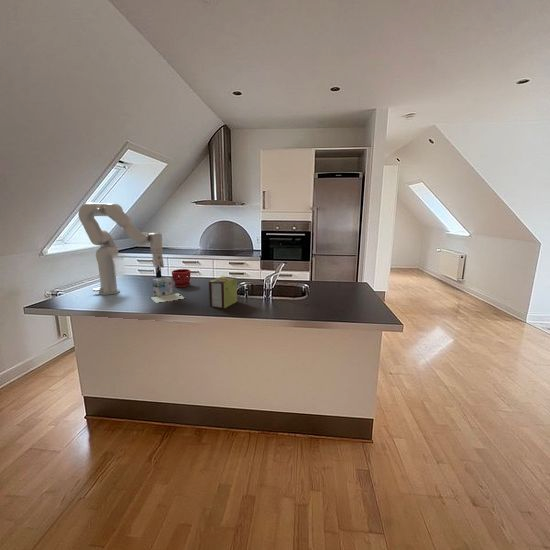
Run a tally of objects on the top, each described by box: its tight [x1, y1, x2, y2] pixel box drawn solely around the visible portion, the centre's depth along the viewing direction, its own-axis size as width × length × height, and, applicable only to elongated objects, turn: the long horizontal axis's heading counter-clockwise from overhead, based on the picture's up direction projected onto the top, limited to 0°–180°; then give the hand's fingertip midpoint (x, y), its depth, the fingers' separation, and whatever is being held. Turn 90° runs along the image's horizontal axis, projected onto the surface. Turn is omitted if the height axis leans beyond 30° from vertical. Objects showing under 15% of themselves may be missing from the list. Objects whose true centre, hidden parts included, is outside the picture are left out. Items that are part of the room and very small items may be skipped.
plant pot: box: [171, 268, 191, 288], centre depth 219 cm, size 13×13×12 cm
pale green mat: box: [150, 292, 185, 304], centre depth 188 cm, size 18×14×1 cm
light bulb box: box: [152, 277, 174, 297], centre depth 195 cm, size 11×7×11 cm, turn 143°
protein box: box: [208, 275, 238, 309], centre depth 177 cm, size 10×15×16 cm
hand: (158, 277), depth 202 cm, fingers closed
